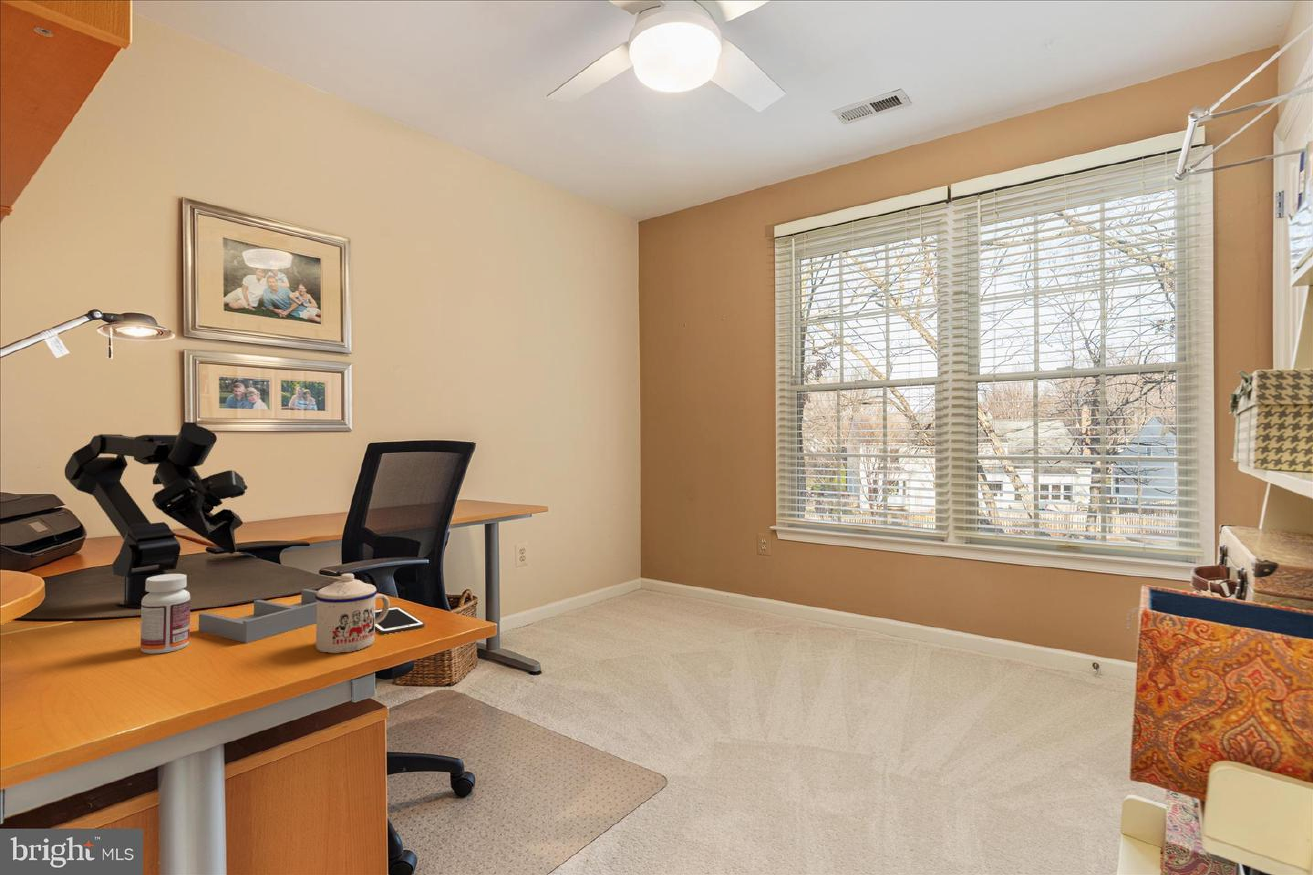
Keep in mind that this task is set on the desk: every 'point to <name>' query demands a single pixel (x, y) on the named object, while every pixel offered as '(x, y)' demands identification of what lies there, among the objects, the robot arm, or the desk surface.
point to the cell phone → (397, 621)
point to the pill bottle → (165, 614)
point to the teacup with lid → (347, 615)
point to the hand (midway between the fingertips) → (220, 544)
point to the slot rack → (263, 619)
